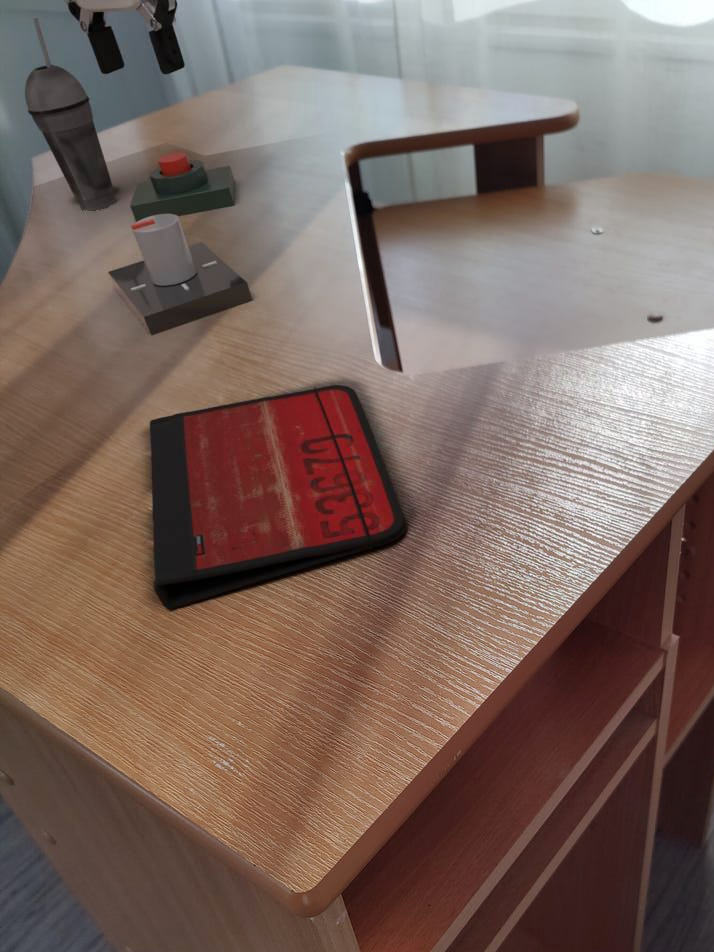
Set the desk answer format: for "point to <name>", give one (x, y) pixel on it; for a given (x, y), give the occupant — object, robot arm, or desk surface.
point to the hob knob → (164, 249)
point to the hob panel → (181, 292)
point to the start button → (174, 163)
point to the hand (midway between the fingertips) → (143, 70)
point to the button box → (184, 192)
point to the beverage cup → (69, 131)
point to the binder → (265, 491)
